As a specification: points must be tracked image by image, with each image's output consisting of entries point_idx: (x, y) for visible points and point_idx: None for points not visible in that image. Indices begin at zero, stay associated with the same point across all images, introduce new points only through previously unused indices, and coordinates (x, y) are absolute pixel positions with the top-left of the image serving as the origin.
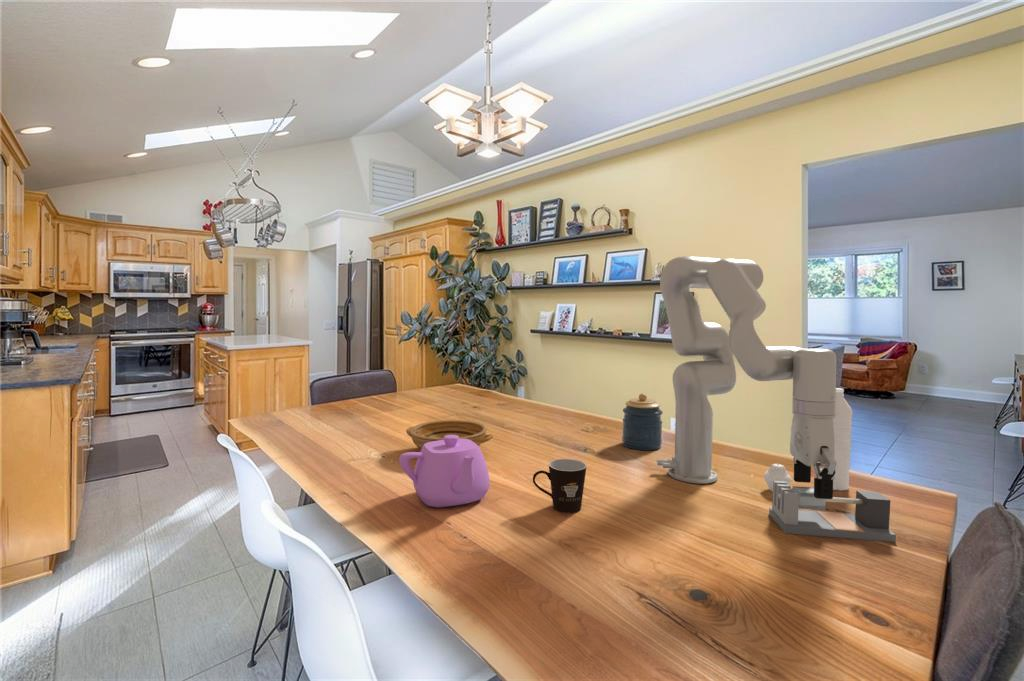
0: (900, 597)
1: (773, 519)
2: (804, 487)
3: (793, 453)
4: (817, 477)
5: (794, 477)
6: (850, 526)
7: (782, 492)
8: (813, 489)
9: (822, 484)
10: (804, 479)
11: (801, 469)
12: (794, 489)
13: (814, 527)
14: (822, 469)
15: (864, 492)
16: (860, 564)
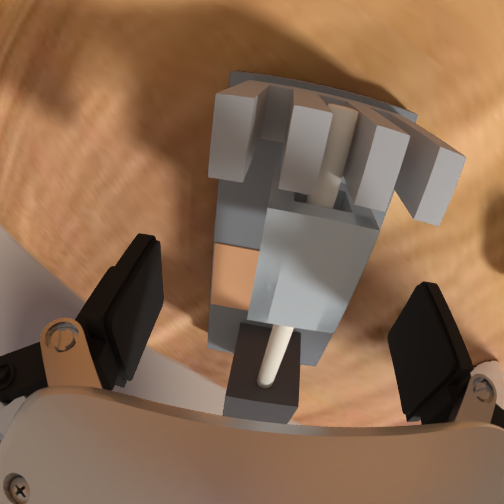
0: (2, 194)
1: (359, 94)
2: (349, 282)
3: (449, 461)
4: (79, 331)
5: (434, 295)
6: (240, 292)
7: (294, 103)
8: (315, 305)
9: (84, 311)
10: (403, 327)
11: (425, 364)
12: (347, 218)
13: (225, 180)
14: (499, 393)
15: (281, 412)
16: (79, 195)
